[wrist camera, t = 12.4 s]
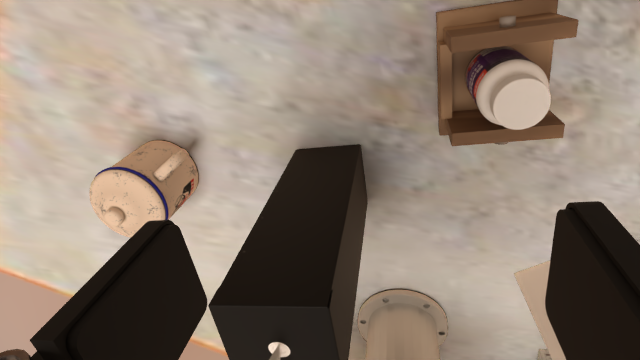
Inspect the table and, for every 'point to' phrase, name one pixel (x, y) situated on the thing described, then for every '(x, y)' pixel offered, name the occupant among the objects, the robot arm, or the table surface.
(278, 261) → the tissue box
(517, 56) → the pill bottle
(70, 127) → the table surface
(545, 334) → the milk
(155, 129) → the table surface
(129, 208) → the teacup with lid
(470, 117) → the holder
